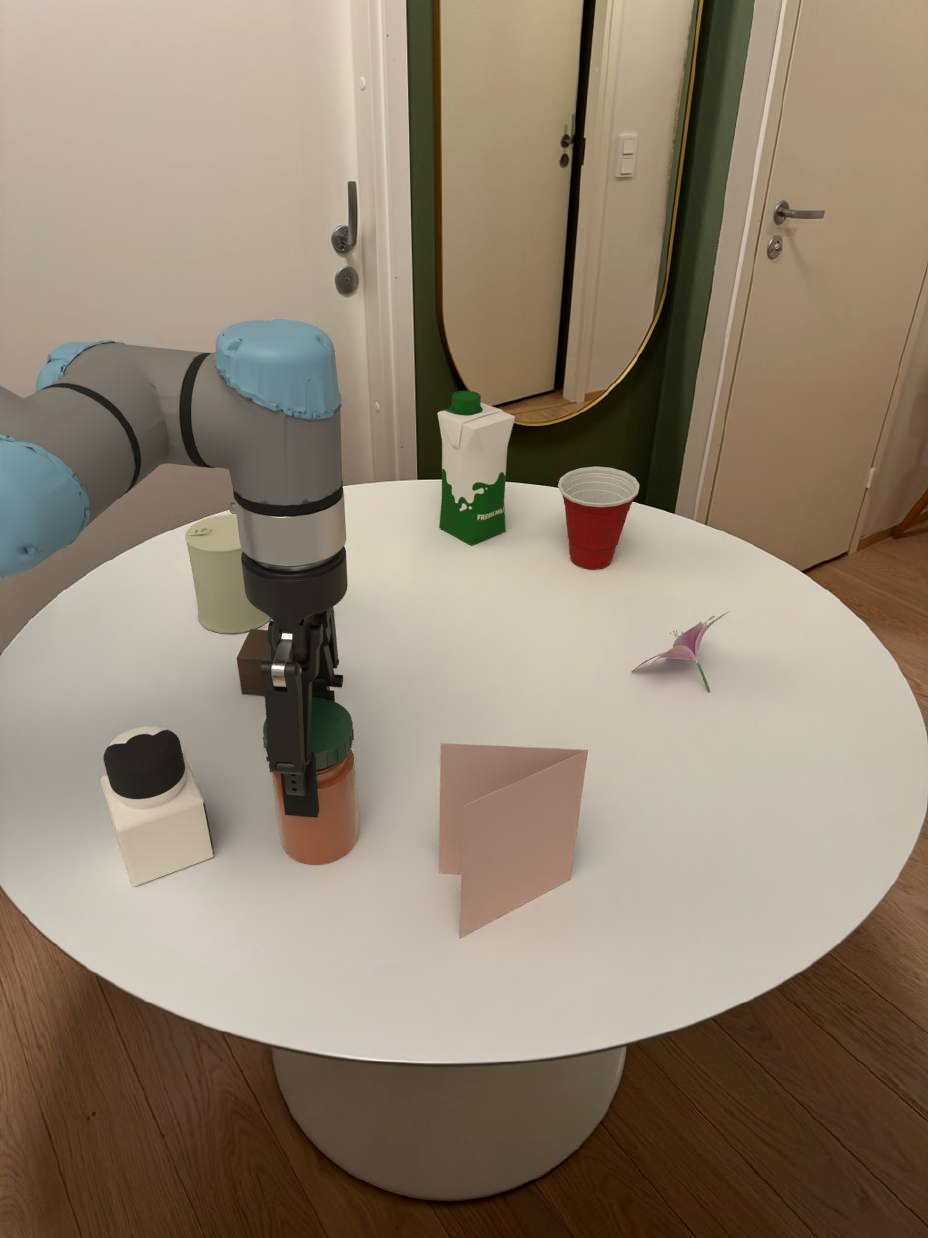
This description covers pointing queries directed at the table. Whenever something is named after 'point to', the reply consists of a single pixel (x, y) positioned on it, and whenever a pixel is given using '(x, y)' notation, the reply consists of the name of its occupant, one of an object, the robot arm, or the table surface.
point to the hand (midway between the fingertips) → (312, 779)
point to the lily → (687, 645)
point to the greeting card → (507, 824)
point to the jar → (323, 817)
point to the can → (220, 577)
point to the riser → (253, 661)
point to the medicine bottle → (154, 804)
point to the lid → (327, 732)
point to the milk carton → (473, 467)
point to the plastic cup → (596, 512)
